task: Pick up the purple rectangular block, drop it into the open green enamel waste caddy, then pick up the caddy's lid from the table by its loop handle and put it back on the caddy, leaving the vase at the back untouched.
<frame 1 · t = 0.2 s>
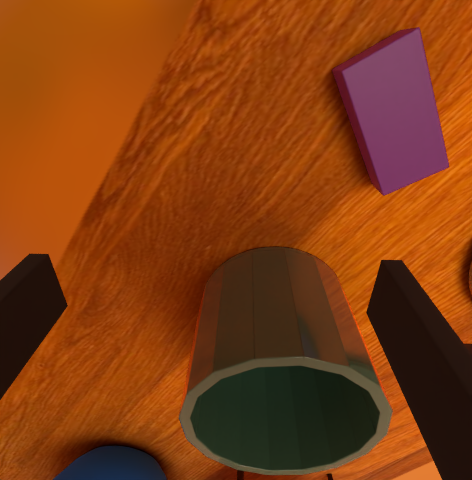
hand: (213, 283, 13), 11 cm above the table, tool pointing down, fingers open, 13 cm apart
vase: (124, 461, 44), on the table
purple rectangular block: (384, 115, 19), on the table
planter: (270, 474, 44), on the table
caddy: (271, 305, 28), on the table
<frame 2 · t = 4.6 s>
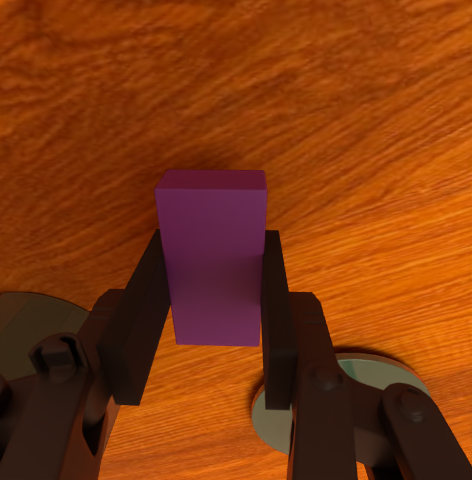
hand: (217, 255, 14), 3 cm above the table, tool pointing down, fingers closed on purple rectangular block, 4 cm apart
purple rectangular block: (218, 251, 15), point 3 cm above the table, touching gripper
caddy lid: (337, 410, 25), point 1 cm above the table
caddy: (48, 356, 23), on the table
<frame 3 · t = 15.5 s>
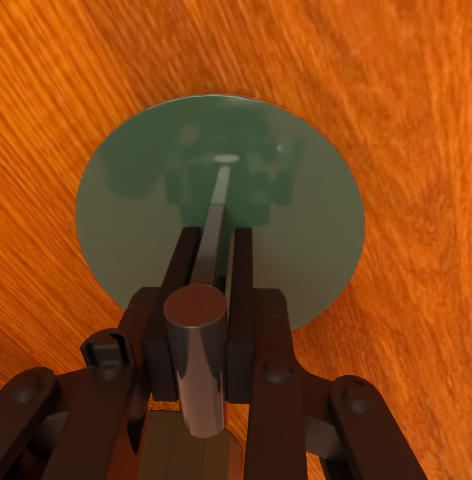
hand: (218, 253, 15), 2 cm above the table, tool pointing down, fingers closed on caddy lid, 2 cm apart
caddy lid: (220, 242, 15), point 1 cm above the table, touching gripper
caddy: (171, 450, 27), on the table
when the fingers open (11 cm above the table, at t = 22.8 s): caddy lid stays where it is, resting on caddy.
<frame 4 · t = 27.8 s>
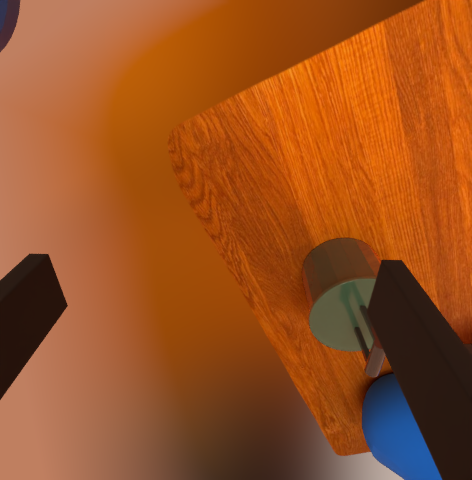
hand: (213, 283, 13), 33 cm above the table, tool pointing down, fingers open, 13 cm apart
vase: (394, 385, 68), on the table
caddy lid: (358, 315, 43), point 10 cm above the table, touching caddy
caddy: (339, 269, 52), on the table
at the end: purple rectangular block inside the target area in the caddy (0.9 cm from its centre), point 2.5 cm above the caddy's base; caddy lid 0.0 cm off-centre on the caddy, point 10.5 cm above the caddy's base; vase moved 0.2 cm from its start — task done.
